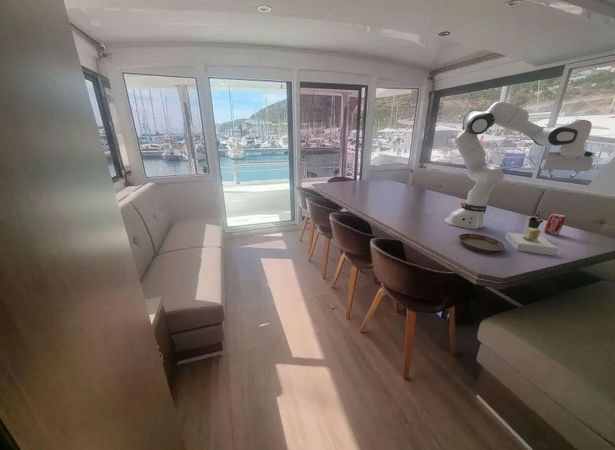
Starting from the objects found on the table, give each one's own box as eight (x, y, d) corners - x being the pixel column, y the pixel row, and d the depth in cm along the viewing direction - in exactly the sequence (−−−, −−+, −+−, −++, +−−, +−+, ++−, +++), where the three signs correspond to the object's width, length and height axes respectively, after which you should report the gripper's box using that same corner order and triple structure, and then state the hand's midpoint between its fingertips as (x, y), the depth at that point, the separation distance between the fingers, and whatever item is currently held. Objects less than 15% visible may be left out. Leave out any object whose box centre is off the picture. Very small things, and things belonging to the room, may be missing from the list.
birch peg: (524, 247, 131) (531, 229, 127) (521, 244, 135) (527, 227, 131) (533, 248, 130) (540, 231, 126) (530, 245, 133) (537, 228, 130)
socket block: (516, 250, 127) (519, 243, 126) (504, 238, 141) (507, 232, 140) (555, 255, 122) (558, 248, 121) (539, 242, 136) (541, 236, 135)
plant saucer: (510, 249, 128) (512, 244, 127) (490, 258, 119) (492, 252, 117) (470, 236, 145) (471, 230, 144) (449, 243, 135) (450, 237, 134)
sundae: (533, 234, 148) (542, 210, 143) (539, 238, 142) (548, 214, 137) (520, 232, 150) (528, 209, 145) (525, 236, 144) (534, 212, 139)
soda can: (561, 236, 146) (569, 217, 142) (548, 235, 147) (555, 216, 143) (553, 231, 152) (560, 213, 148) (540, 230, 154) (547, 212, 149)
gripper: (549, 152, 131) (540, 177, 136) (598, 153, 125) (587, 180, 130) (543, 151, 137) (534, 176, 142) (590, 152, 130) (579, 178, 135)
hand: (560, 178), depth 136 cm, fingers open, 8 cm apart
